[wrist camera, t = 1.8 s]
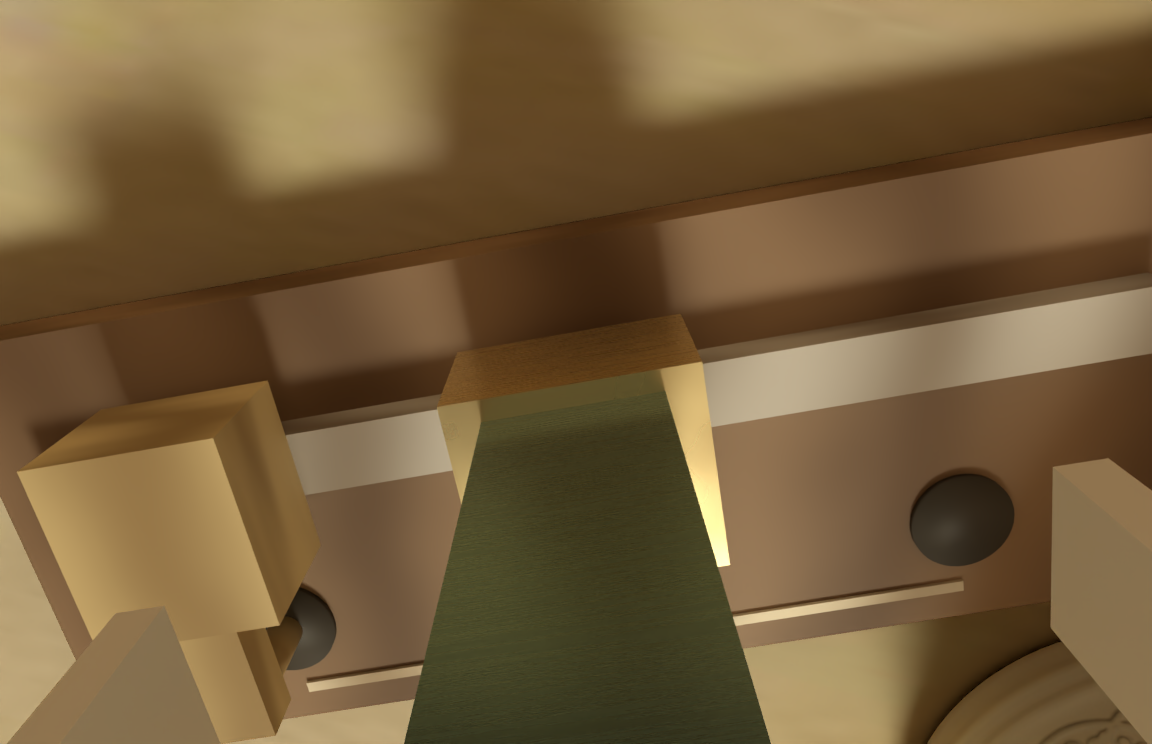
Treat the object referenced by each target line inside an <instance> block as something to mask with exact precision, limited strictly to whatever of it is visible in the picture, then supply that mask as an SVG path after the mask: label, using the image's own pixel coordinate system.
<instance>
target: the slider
mask: <svg viewBox="0 0 1152 744" xmlns="http://www.w3.org/2000/svg"><path fill="white" fill-rule="evenodd" d="M437 411H438V414H439V418H440V422H441V426H442V430H443V434H444V438H445V442H446V446H447V450H448V454H449V458H450V462H451V466H452V469H453V473H454V477H455V481H456V485H457V489H458V493H459V497H460V501H461V508H460V513H459V517H458V521H457V525H456V529H455V533H454V538H453V542H452V546H451V550H450V554H449V559H448V563H447V567H446V571H445V575H444V579H443V584H442V588H441V592H440V596H439V600H438V604H437V609H436V613H435V617H434V621H433V625H432V629H431V634H430V638H429V642H428V646H427V650H426V654H425V659H424V663H423V667H422V671H421V675H420V679H419V684H418V688H417V692H416V696H415V700H414V705H413V709H412V713H411V717H410V721H409V725H408V730H407V734H406V738H405V742H404V744H771V742H770V739H769V736H768V732H767V729H766V726H765V722H764V719H763V716H762V712H761V709H760V706H759V702H758V699H757V696H756V692H755V689H754V686H753V682H752V679H751V676H750V672H749V669H748V665H747V662H746V659H745V655H744V652H743V649H742V645H741V642H740V639H739V635H738V632H737V629H736V625H735V622H734V619H733V615H732V612H731V609H730V605H729V602H728V599H727V595H726V592H725V589H724V585H723V582H722V579H721V575H720V572H719V569H718V567H720V566H727V565H730V561H729V554H728V546H727V539H726V532H725V524H724V517H723V510H722V502H721V495H720V488H719V480H718V473H717V466H716V458H715V451H714V444H713V436H712V429H711V422H710V414H709V407H708V400H707V392H706V385H705V378H704V370H703V363H702V360H701V358H700V355H699V353H698V351H697V349H696V347H695V344H694V342H693V340H692V338H691V336H690V333H689V331H688V329H687V327H686V325H685V322H684V320H683V318H682V316H681V314H675V315H669V316H664V317H658V318H652V319H647V320H641V321H635V322H629V323H624V324H618V325H612V326H606V327H601V328H595V329H589V330H584V331H578V332H572V333H566V334H561V335H555V336H549V337H543V338H538V339H532V340H526V341H521V342H515V343H509V344H503V345H498V346H492V347H486V348H480V349H475V350H469V351H463V352H457V355H456V358H455V360H454V363H453V366H452V368H451V371H450V373H449V376H448V379H447V381H446V384H445V387H444V389H443V392H442V394H441V397H440V400H439V402H438V405H437Z"/></svg>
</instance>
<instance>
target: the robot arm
mask: <svg viewBox="0 0 1152 744" xmlns="http://www.w3.org/2000/svg"><path fill="white" fill-rule="evenodd" d="M1051 629H1052V630H1053V631H1054V632H1055V634H1056V635H1057V636H1058V637H1059V638H1060V640H1061V641H1062V642H1063V643H1064V644H1065V646H1066V647H1067V648H1068V649H1069V650H1070V652H1071V653H1072V654H1073V655H1074V656H1075V658H1076V659H1077V660H1078V661H1079V662H1080V664H1081V665H1082V666H1083V667H1084V668H1085V670H1086V671H1087V672H1088V673H1089V674H1090V676H1091V677H1092V678H1093V679H1094V680H1095V682H1096V683H1097V684H1098V685H1099V686H1100V687H1101V689H1102V690H1103V691H1104V692H1105V693H1106V695H1107V696H1108V697H1109V698H1110V699H1111V701H1112V702H1113V703H1114V704H1115V705H1116V707H1117V708H1118V709H1119V710H1120V711H1121V713H1122V714H1123V715H1124V716H1125V717H1126V719H1127V720H1128V721H1129V722H1130V723H1131V725H1132V726H1133V727H1134V728H1135V729H1136V731H1137V732H1138V733H1139V734H1140V735H1141V737H1142V738H1143V739H1144V740H1145V741H1146V742H1147V744H1152V490H1150V489H1149V488H1148V487H1146V486H1145V485H1144V484H1142V483H1141V482H1140V481H1138V480H1137V479H1136V478H1134V477H1133V476H1132V475H1130V474H1129V473H1127V472H1126V471H1125V470H1123V469H1122V468H1121V467H1119V466H1118V465H1117V464H1115V463H1114V462H1113V461H1111V460H1110V459H1109V458H1106V459H1100V460H1094V461H1087V462H1081V463H1074V464H1068V465H1061V466H1055V467H1053V490H1052V562H1051ZM7 744H221V743H220V741H219V739H218V736H217V734H216V731H215V729H214V726H213V724H212V721H211V719H210V716H209V714H208V712H207V709H206V707H205V704H204V702H203V699H202V697H201V694H200V692H199V690H198V687H197V685H196V682H195V680H194V677H193V675H192V672H191V670H190V668H189V665H188V663H187V660H186V658H185V655H184V653H183V650H182V648H181V646H180V643H179V641H178V638H177V636H176V633H175V631H174V628H173V626H172V623H171V621H170V619H169V616H168V614H167V611H166V609H165V606H159V607H152V608H146V609H139V610H133V611H127V612H120V613H116V614H115V615H114V616H113V617H112V618H111V620H110V621H109V622H108V623H107V624H106V626H105V627H104V628H103V629H102V630H101V632H100V633H99V634H98V635H97V636H96V638H95V639H94V640H93V641H92V642H91V644H90V645H89V646H88V647H87V648H86V650H85V651H84V652H83V653H82V654H81V656H80V657H79V658H78V659H77V660H76V662H75V663H74V664H73V665H72V666H71V668H70V669H69V670H68V671H67V672H66V674H65V675H64V676H63V677H62V678H61V680H60V681H59V682H58V683H57V684H56V686H55V687H54V688H53V689H52V690H51V692H50V693H49V694H48V695H47V696H46V698H45V699H44V700H43V701H42V702H41V704H40V705H39V706H38V707H37V708H36V710H35V711H34V712H33V713H32V714H31V716H30V717H29V718H28V719H27V720H26V722H25V723H24V724H23V725H22V726H21V728H20V729H19V730H18V731H17V732H16V734H15V735H14V736H13V737H12V738H11V740H10V741H9V742H8V743H7Z"/></svg>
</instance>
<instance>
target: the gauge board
mask: <svg viewBox="0 0 1152 744" xmlns="http://www.w3.org/2000/svg"><path fill="white" fill-rule="evenodd" d="M675 314H681V316H682V318H683V320H684V322H685V325H686V327H687V329H688V331H689V333H690V336H691V338H692V340H693V342H694V344H695V347H696V349H697V351H698V353H699V355H700V358H701V360H702V363H703V370H704V378H705V385H706V392H707V400H708V407H709V414H710V422H711V429H712V436H713V444H714V451H715V458H716V466H717V473H718V480H719V488H720V495H721V502H722V510H723V517H724V524H725V532H726V539H727V546H728V554H729V561H730V565H727V566H720V567H718V569H719V572H720V575H721V579H722V582H723V585H724V589H725V592H726V595H727V599H728V602H729V605H730V609H731V612H732V615H733V619H734V622H735V625H736V629H737V632H738V635H739V639H740V642H741V645H742V649H743V648H750V647H756V646H763V645H769V644H776V643H782V642H789V641H795V640H802V639H808V638H815V637H821V636H828V635H834V634H841V633H847V632H854V631H860V630H867V629H873V628H880V627H886V626H893V625H900V624H906V623H913V622H919V621H926V620H932V619H939V618H945V617H952V616H958V615H965V614H971V613H978V612H984V611H991V610H997V609H1004V608H1010V607H1017V606H1023V605H1030V604H1036V603H1043V602H1049V601H1051V562H1052V490H1053V467H1055V466H1061V465H1068V464H1074V463H1081V462H1087V461H1094V460H1100V459H1106V458H1109V459H1110V460H1111V461H1113V462H1114V463H1115V464H1117V465H1118V466H1119V467H1121V468H1122V469H1123V470H1125V471H1126V472H1127V473H1129V474H1130V475H1132V476H1133V477H1134V478H1136V479H1137V480H1138V481H1140V482H1141V483H1142V484H1144V485H1145V486H1146V487H1148V488H1149V489H1150V490H1152V117H1150V118H1145V119H1139V120H1134V121H1128V122H1122V123H1117V124H1111V125H1106V126H1100V127H1095V128H1089V129H1084V130H1078V131H1073V132H1067V133H1062V134H1056V135H1051V136H1045V137H1040V138H1034V139H1029V140H1023V141H1018V142H1012V143H1007V144H1001V145H996V146H990V147H985V148H979V149H974V150H968V151H963V152H957V153H951V154H946V155H940V156H935V157H929V158H924V159H918V160H913V161H907V162H902V163H896V164H891V165H885V166H880V167H874V168H869V169H863V170H858V171H852V172H847V173H841V174H836V175H830V176H825V177H819V178H814V179H808V180H803V181H797V182H792V183H786V184H780V185H775V186H769V187H764V188H758V189H753V190H747V191H742V192H736V193H731V194H725V195H720V196H714V197H709V198H703V199H698V200H692V201H687V202H681V203H676V204H670V205H665V206H659V207H654V208H648V209H643V210H637V211H632V212H626V213H621V214H615V215H609V216H604V217H598V218H593V219H587V220H582V221H576V222H571V223H565V224H560V225H554V226H549V227H543V228H538V229H532V230H527V231H521V232H516V233H510V234H505V235H499V236H494V237H488V238H483V239H477V240H472V241H466V242H461V243H455V244H450V245H444V246H438V247H433V248H427V249H422V250H416V251H411V252H405V253H400V254H394V255H389V256H383V257H378V258H372V259H367V260H361V261H356V262H350V263H345V264H339V265H334V266H328V267H323V268H317V269H312V270H306V271H301V272H295V273H290V274H284V275H279V276H273V277H267V278H262V279H256V280H251V281H245V282H240V283H234V284H229V285H223V286H218V287H212V288H207V289H201V290H196V291H190V292H185V293H179V294H174V295H168V296H163V297H157V298H152V299H146V300H141V301H135V302H130V303H124V304H119V305H113V306H108V307H102V308H96V309H91V310H85V311H80V312H74V313H69V314H63V315H58V316H52V317H47V318H41V319H36V320H30V321H25V322H19V323H14V324H8V325H3V326H0V497H1V499H2V501H3V503H4V505H5V507H6V510H7V512H8V514H9V516H10V518H11V520H12V523H13V525H14V527H15V529H16V531H17V533H18V536H19V538H20V540H21V542H22V544H23V546H24V549H25V551H26V553H27V555H28V557H29V559H30V562H31V564H32V566H33V568H34V570H35V572H36V575H37V577H38V579H39V581H40V583H41V585H42V588H43V590H44V592H45V594H46V596H47V598H48V601H49V603H50V605H51V607H52V609H53V611H54V614H55V616H56V618H57V620H58V622H59V624H60V627H61V629H62V631H63V633H64V635H65V637H66V640H67V642H68V644H69V646H70V648H71V650H72V653H73V655H74V657H75V659H76V660H77V659H78V658H79V657H80V656H81V654H82V653H83V652H84V651H85V650H86V648H87V647H88V646H89V645H90V644H91V642H92V641H93V640H94V639H95V638H96V636H97V635H98V634H99V633H100V632H101V630H102V629H103V628H104V627H105V626H106V624H107V623H108V622H109V621H110V620H111V618H112V617H113V616H114V615H115V614H116V613H120V612H127V611H133V610H139V609H146V608H152V607H159V606H165V609H166V611H167V614H168V616H169V619H170V621H171V623H172V626H173V628H174V631H175V633H176V636H177V638H178V641H179V643H180V646H181V648H182V650H183V653H184V655H185V658H186V660H187V663H188V665H189V668H190V670H191V672H192V675H193V677H194V680H195V682H196V685H197V687H198V690H199V692H200V694H201V697H202V699H203V702H204V704H205V707H206V709H207V712H208V714H209V716H210V719H211V721H212V724H213V726H214V729H215V731H216V734H217V736H218V739H219V741H220V743H221V744H223V743H230V742H236V741H243V740H249V739H256V738H262V737H269V736H276V733H277V731H278V729H279V727H280V724H281V722H282V720H283V719H288V718H294V717H301V716H307V715H314V714H320V713H327V712H333V711H340V710H346V709H353V708H359V707H366V706H372V705H379V704H385V703H392V702H398V701H405V700H411V699H415V696H416V692H417V688H418V684H419V679H420V675H421V671H422V667H423V663H424V659H425V654H426V650H427V646H428V642H429V638H430V634H431V629H432V625H433V621H434V617H435V613H436V609H437V604H438V600H439V596H440V592H441V588H442V584H443V579H444V575H445V571H446V567H447V563H448V559H449V554H450V550H451V546H452V542H453V538H454V533H455V529H456V525H457V521H458V517H459V513H460V508H461V501H460V497H459V493H458V489H457V485H456V481H455V477H454V473H453V469H452V466H451V462H450V458H449V454H448V450H447V446H446V442H445V438H444V434H443V430H442V426H441V422H440V418H439V414H438V411H437V405H438V402H439V400H440V397H441V394H442V392H443V389H444V387H445V384H446V381H447V379H448V376H449V373H450V371H451V368H452V366H453V363H454V360H455V358H456V355H457V352H463V351H469V350H475V349H480V348H486V347H492V346H498V345H503V344H509V343H515V342H521V341H526V340H532V339H538V338H543V337H549V336H555V335H561V334H566V333H572V332H578V331H584V330H589V329H595V328H601V327H606V326H612V325H618V324H624V323H629V322H635V321H641V320H647V319H652V318H658V317H664V316H669V315H675Z"/></svg>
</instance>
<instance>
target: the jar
mask: <svg viewBox="0 0 1152 744" xmlns="http://www.w3.org/2000/svg"><path fill="white" fill-rule="evenodd" d="M927 744H1147V742H1146V741H1145V740H1144V739H1143V738H1142V737H1141V735H1140V734H1139V733H1138V732H1137V731H1136V729H1135V728H1134V727H1133V726H1132V725H1131V723H1130V722H1129V721H1128V720H1127V719H1126V717H1125V716H1124V715H1123V714H1122V713H1121V711H1120V710H1119V709H1118V708H1117V707H1116V705H1115V704H1114V703H1113V702H1112V701H1111V699H1110V698H1109V697H1108V696H1107V695H1106V693H1105V692H1104V691H1103V690H1102V689H1101V687H1100V686H1099V685H1098V684H1097V683H1096V682H1095V680H1094V679H1093V678H1092V677H1091V676H1090V674H1089V673H1088V672H1087V671H1086V670H1085V668H1084V667H1083V666H1082V665H1081V664H1080V662H1079V661H1078V660H1077V659H1076V658H1075V656H1074V655H1073V654H1072V653H1071V652H1070V650H1069V649H1068V648H1067V647H1066V646H1065V644H1064V643H1063V642H1062V641H1061V642H1058V643H1055V644H1052V645H1050V646H1047V647H1045V648H1042V649H1039V650H1037V651H1035V652H1033V653H1031V654H1029V655H1026V656H1024V657H1022V658H1021V659H1019V660H1017V661H1015V662H1013V663H1011V664H1009V665H1008V666H1006V667H1005V668H1003V669H1001V670H1000V671H998V672H996V673H995V674H993V675H992V676H991V677H989V678H988V679H986V680H985V681H984V682H982V683H981V684H980V685H978V686H977V687H976V688H975V689H974V690H972V691H971V692H970V693H969V694H968V695H967V696H966V697H964V698H963V699H962V700H961V701H960V702H959V703H958V704H957V705H956V706H955V707H954V708H953V709H952V710H951V711H950V713H949V714H948V715H947V716H946V717H945V719H944V720H943V721H942V722H941V723H940V725H939V726H938V727H937V729H936V730H935V732H934V733H933V735H932V736H931V738H930V739H929V741H928V743H927Z"/></svg>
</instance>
